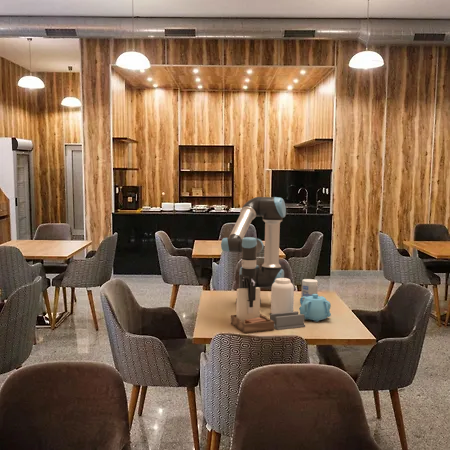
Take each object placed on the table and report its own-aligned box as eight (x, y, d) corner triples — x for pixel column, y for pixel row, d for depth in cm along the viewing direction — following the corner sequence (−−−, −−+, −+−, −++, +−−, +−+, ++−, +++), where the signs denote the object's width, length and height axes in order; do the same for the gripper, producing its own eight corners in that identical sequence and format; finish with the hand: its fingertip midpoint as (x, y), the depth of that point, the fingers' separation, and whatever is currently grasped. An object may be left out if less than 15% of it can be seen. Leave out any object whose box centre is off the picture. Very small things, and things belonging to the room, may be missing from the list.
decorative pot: (331, 323, 276) (332, 298, 275) (301, 322, 277) (302, 297, 275) (327, 315, 292) (328, 291, 291) (298, 314, 293) (299, 290, 292)
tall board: (236, 322, 271) (236, 288, 269) (257, 320, 275) (257, 287, 274) (238, 324, 268) (239, 289, 266) (259, 322, 272) (260, 288, 271)
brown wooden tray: (230, 323, 272) (230, 315, 272) (258, 320, 278) (258, 312, 278) (244, 333, 256) (245, 324, 255) (274, 330, 262) (274, 321, 261)
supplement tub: (301, 305, 312) (301, 281, 311) (300, 302, 322) (301, 278, 320) (317, 306, 311) (318, 282, 310) (316, 302, 320) (317, 279, 319)
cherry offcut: (245, 323, 264) (245, 319, 264) (259, 320, 269) (259, 317, 269) (252, 326, 259) (252, 322, 259) (266, 323, 264) (266, 320, 264)
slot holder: (268, 324, 272) (268, 313, 271) (295, 321, 278) (295, 310, 277) (277, 329, 263) (277, 318, 262) (305, 326, 268) (305, 315, 268)
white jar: (278, 309, 303) (279, 275, 301) (297, 313, 295) (298, 278, 293) (266, 313, 293) (267, 278, 291) (285, 318, 285) (286, 281, 283)
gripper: (235, 265, 276) (234, 308, 278) (249, 270, 259) (248, 316, 262) (248, 264, 278) (247, 307, 281) (263, 270, 262) (262, 315, 264)
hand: (248, 311), depth 271 cm, fingers open, 4 cm apart
